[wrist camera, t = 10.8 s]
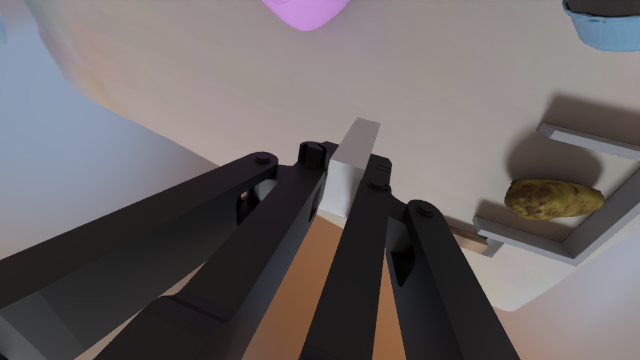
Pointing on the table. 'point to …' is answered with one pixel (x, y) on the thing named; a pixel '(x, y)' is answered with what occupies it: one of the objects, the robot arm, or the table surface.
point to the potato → (551, 199)
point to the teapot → (306, 12)
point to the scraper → (476, 242)
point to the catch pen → (595, 230)
